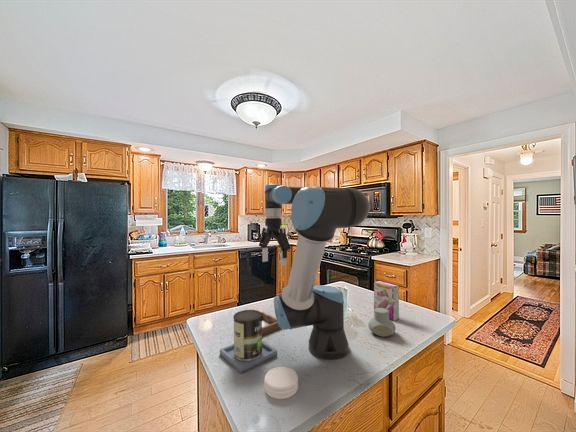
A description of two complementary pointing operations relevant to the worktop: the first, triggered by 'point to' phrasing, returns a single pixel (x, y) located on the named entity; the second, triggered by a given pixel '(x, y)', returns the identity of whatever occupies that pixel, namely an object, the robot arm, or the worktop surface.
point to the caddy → (272, 326)
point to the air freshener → (381, 323)
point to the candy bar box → (387, 298)
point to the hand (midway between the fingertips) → (274, 263)
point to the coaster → (281, 383)
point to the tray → (244, 366)
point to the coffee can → (247, 335)
